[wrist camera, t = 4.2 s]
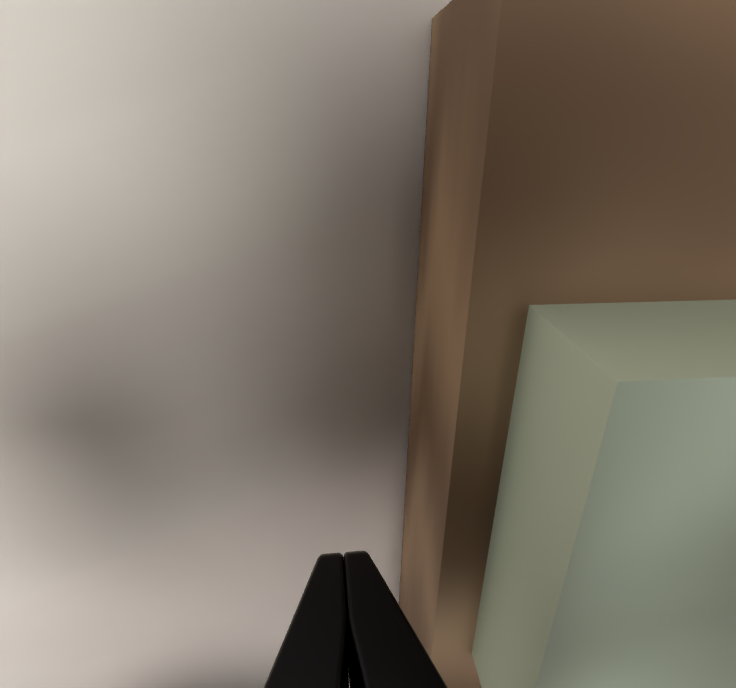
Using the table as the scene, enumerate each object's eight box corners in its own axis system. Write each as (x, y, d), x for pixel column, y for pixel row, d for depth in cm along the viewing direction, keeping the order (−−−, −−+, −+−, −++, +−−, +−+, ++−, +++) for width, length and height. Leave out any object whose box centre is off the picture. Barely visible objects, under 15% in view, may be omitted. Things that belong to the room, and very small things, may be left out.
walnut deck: (709, 593, 18) (807, 711, 14) (398, 621, 17) (420, 757, 13) (970, 35, 10) (1316, -11, 7) (432, 17, 9) (507, -48, 6)
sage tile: (701, 631, 12) (789, 748, 10) (471, 653, 11) (509, 783, 9) (861, 296, 8) (1067, 361, 6) (528, 305, 8) (618, 381, 5)
